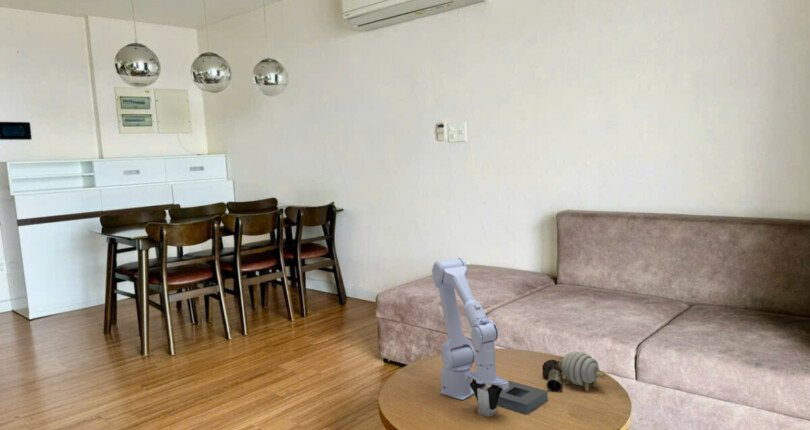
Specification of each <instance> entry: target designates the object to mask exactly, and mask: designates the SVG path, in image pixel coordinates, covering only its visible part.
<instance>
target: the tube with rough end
mask: <svg viewBox="0 0 810 430" xmlns="http://www.w3.org/2000/svg"><path fill="white" fill-rule="evenodd" d="M559 361H560V360H558V361H557V359H552V358H551V359H548V360H546V361H545V362H544V363H543V364H542V369H541V370H542V376H543V378H544V379H546V380H547V381H546V388H547V389H548V390H549V391H551V392H553V393H559V392H561V391H562V388H563V384H562V383H563V382H562V378H563V377H562V374H563V371H562V370H561V369H560V368H559Z"/></svg>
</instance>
